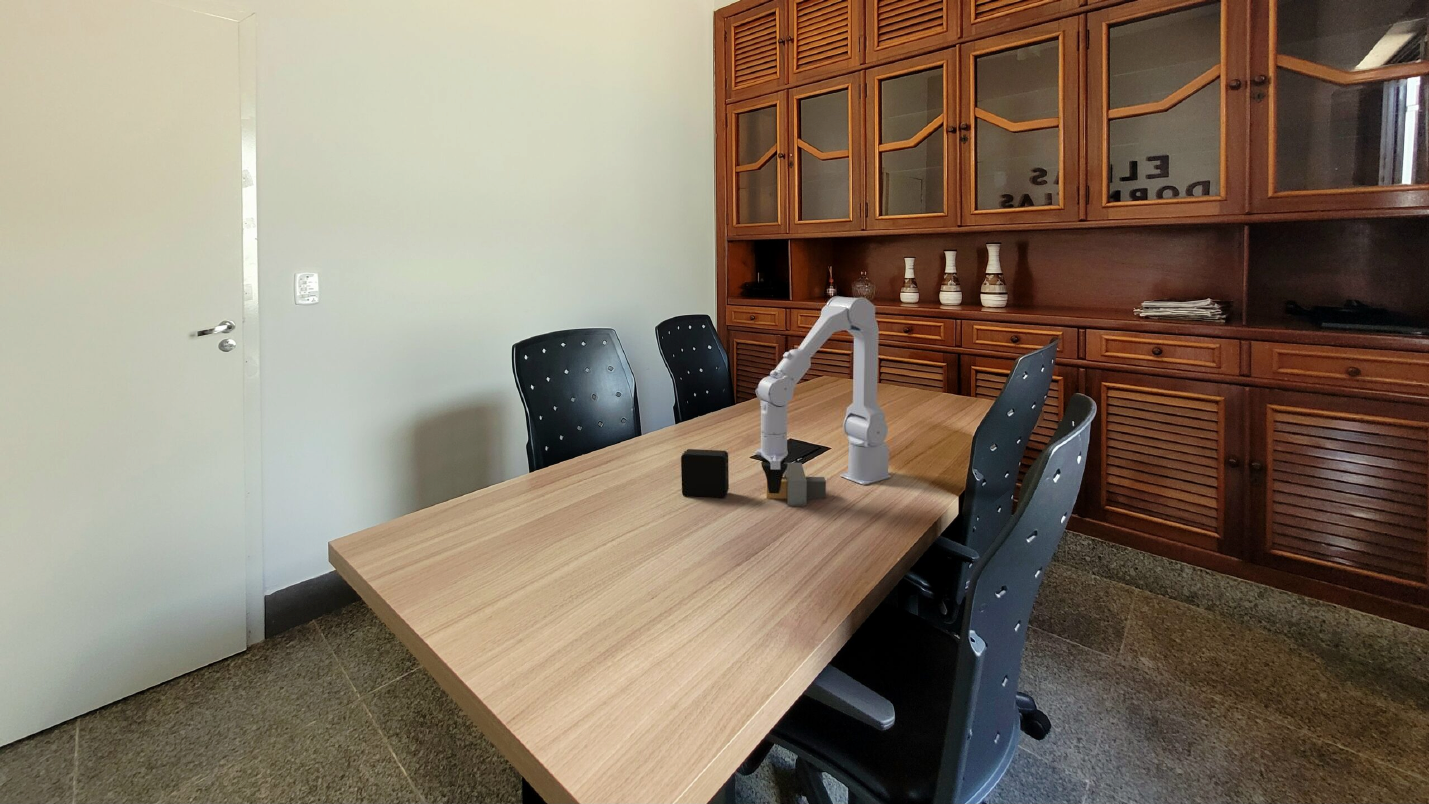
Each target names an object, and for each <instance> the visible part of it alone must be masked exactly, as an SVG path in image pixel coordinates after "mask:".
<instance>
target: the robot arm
mask: <svg viewBox="0 0 1429 804" xmlns="http://www.w3.org/2000/svg"><path fill="white" fill-rule="evenodd" d="M845 330H846V331H847V332H848V333H849V334H850V335H851V336H852V337H853V372H852V374H853V375H852V377H853V378H852V380H853V381H852V382H853V383H852V384H853V385H852V387H853V388H852V389H853V390H852V403H851V404H850V405H849V406H847V407H846V408H845V409H846V413H845V418H844V420H843V423H842V429H843V432H844V434H845V435H846V436H847V440H848V459H847V460H848V464H847V472H843V473H841V474H840V475H839V476H840V477H842V478H845V479H846V480H849V481H852V482H854V483H858V484H860V485H864V486H865V485H871V484H872V483H876V482H879V481H883V480H886V479H890V478H891V477H892V476H891V474H889V461H890V451H889V450H890V449H889V447H888V444H887V443H886V442H885V440H886V438H887V436H888V432H889V429H888V424H887V422H886V413H885V412H884V411H883V410H882V407H880V405H879V404H878V376H879V375H878V374H879V373H878V372H879V339H880V338H879V331H880V329H879V325H878V322H877V319H876V306H875V305H874V304H873V303H872V302H871V301H870V300H869V299H867V297H866V298H865V297H849V296H848V297H845V296H839V295H836V296H833V297H831V298H830V299H829V300H828V301H827V302H826V305H824V306H823V308H821V312H820V316H819V318H818V320H817V321H816V322H815V324H813V326H812V327H811V329H810V330H809V332H808V334H807V335H806V336H805V338H804V339H803V340H802V342H801V344H800V345H799V346H798V347H797V348H795V349H790V350H789V351H786V352H784V354H783V355H782V357H783V358H782V359H781V361H780V362H779V363H778V364H777V366H776V367H775V368H774V369H773V370H771V371H770V373H769V375H767V376H766V377H763V378H762V379H761V380H760V381H759V383H758V385H757V388H756V389H755V394H756V397H757V398H758V399H759V402H760V403H759V404H760V448H757V449H755V455H757V456H760V459H761V462H760V464H761V468H762V471H763V472H764V475H765V479H766V478H767V484H768V490H769V493H779V490H780V486H781V481H782V477H784V472H785V471H786V469H787V463H788V462H785V461H786V460H787V456H788V453H789V452H788V403H789V402H791V401H792V399H793V397H794V392H795V391H794V390H795V388H796V385H797V384H798V383H799V381H800V380H801V379H802V377H804V375H805V374H806V373H807V372H808V371H809V369H810V368H811V366H812V365H811V364H812V363H811V358H812V357H813V356H814V355H815V354H816V353H817V351H818V350H819V349H820V348H821V347H822V346H823V344H825V343H826V341H827V340H829V338H830V337H831V336H832V335H833V334H834V333H836V332H841V331H845Z"/></svg>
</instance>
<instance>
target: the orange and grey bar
mask: <svg viewBox="0 0 1429 804" xmlns="http://www.w3.org/2000/svg"><path fill="white" fill-rule="evenodd" d="M765 480H766V482H765V485H766V487H765V496H766V497H765V498H766V499H786V486H787V478H786V477H784V476H783V477H782V481H781V486H780V490H779V493H769V490H768V484H767V478H766V477H765ZM806 480H807V493H806V500H807V499H814V500H815V499H818V500H819V499H820V500H821V499H823V500H824V499H826V498H827V497H826V495H827V494H826V491H827V490H826V489H827V481H826V478H825V476H806Z"/></svg>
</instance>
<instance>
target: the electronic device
mask: <svg viewBox="0 0 1429 804" xmlns="http://www.w3.org/2000/svg"><path fill="white" fill-rule="evenodd" d="M680 467H681V468H680V471H681V474H680V475H681V494H682V496H683V497H686V498H699V499H700V498H703V499H717V500H720V499H721V500H722V499H725V498H726V496H727V494H728V492H729V489H730V488H729V478H730V477H729V474H730V473H729V471H730V470H729V452H727V451H726V450H721V449H720V450H719V449H718V450H716V449H715V450H714V449H695V448H688V449H686V450H684V451H683V452H682V453H681V457H680Z"/></svg>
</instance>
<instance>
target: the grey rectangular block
mask: <svg viewBox="0 0 1429 804" xmlns="http://www.w3.org/2000/svg"><path fill="white" fill-rule="evenodd" d="M786 463H787V469H786V471H785V472H784V474H783V477H786V478H787V486H786V498H785V500H786V505H787V507H807V499H806V493H807V480H806V477H807V476H806V474H805V470H804V466H803V464H802V462H786Z"/></svg>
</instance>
